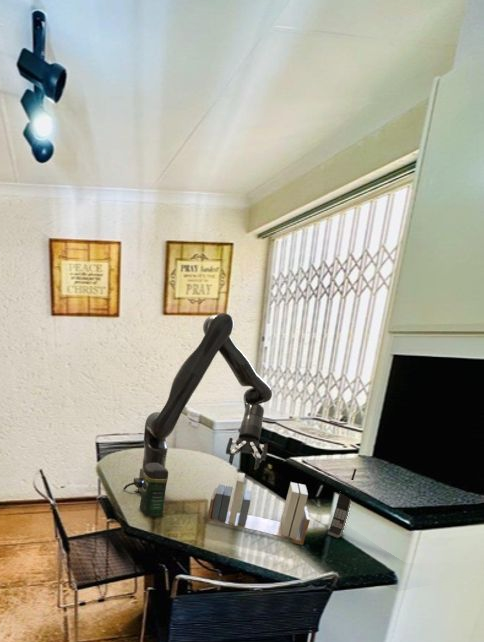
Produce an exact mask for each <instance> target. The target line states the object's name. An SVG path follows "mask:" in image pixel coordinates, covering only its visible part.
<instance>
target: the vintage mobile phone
mask: <svg viewBox="0 0 484 642" xmlns="http://www.w3.org/2000/svg"><path fill="white" fill-rule="evenodd" d="M352 472H353V473H352V476H351V478H350V481H351V480H353V481H354V479H355V476H356V473H357V468H354V469H353V471H352ZM350 504H351V499H350V498H348V497H347V496H345V495H344V494H341V493H340V492H339V494H338V497H337V502H336V506H335V509H334V513H333V516H332V519H331V523H330V527H329V528H328V530H327V535H329V536H331V537H334V538H335V539H339V538H340V537H341V536H342V535H343V534H344V532H343V530H344V531H345V529H344V526H345V523H346V519H347V516H348V512H349V508H350ZM348 517H349V516H348ZM347 520H348V519H347ZM346 524H347V523H346ZM345 527H346V526H345Z"/></svg>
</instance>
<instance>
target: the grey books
mask: <svg viewBox="0 0 484 642" xmlns="http://www.w3.org/2000/svg"><path fill="white" fill-rule="evenodd" d="M216 488H217V491H216V495H215V500H214V506H213V511H212V516H211V519H214V520H218V518H219V521H223V522H225V521H226V517H227V513H228V511H229V507H230V502H231V497H232V492H233V488H234V487H233V486H230V485H226V484H225V485H224V484H220V483H219V484H218V486H217V487H216ZM252 493H253V492H252V490H250V489H244V491H243V496H242V502H241V506H240V511H239V513H240V516H239V522H238V525H240V526H245V524H246V520H247V515H249V510H250V506H251V501H252ZM219 514H220V515H219Z"/></svg>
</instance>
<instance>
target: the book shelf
mask: <svg viewBox="0 0 484 642" xmlns="http://www.w3.org/2000/svg"><path fill="white" fill-rule="evenodd" d="M217 488H218V487H214V490H213V492H212V495H211V498H210V502H209V508H208V513H207V519H206V520H208V521H213V522H216V523H217V522H218V523H221V524H226V525H230V526H234V527H238V528H244V529H248V530H251V531H257V532H262V533H265V534H270V535H274V536H278V537H282V538H287V539H292V544H296V545H300V546H304V543H305V540H306V535H307V532H308V528H309V525H310V522H311V518H310V514H309V510H308V507H307V505H305V508H304V512H303V516H302V519H301V523H300V527H299V531H298V534H297V538H293V537H289V535H288V536H284V535H281V524H280V522H281V521H278V520H273V519H269V518H264V517H259V516H255V515H250V514H248V515H247V520H246V524H245V526H240V525H238V522H239V516H240V512H237V516H236V521H235V524H232V523H228V522H229V517H230V512H231V510H228V513H227V517H226V521H225V522H223V521H219V518H218V520H214V519H211V516H212V511H213V506H214V500H215V495H216V491H217ZM219 515H220V514H219Z"/></svg>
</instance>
